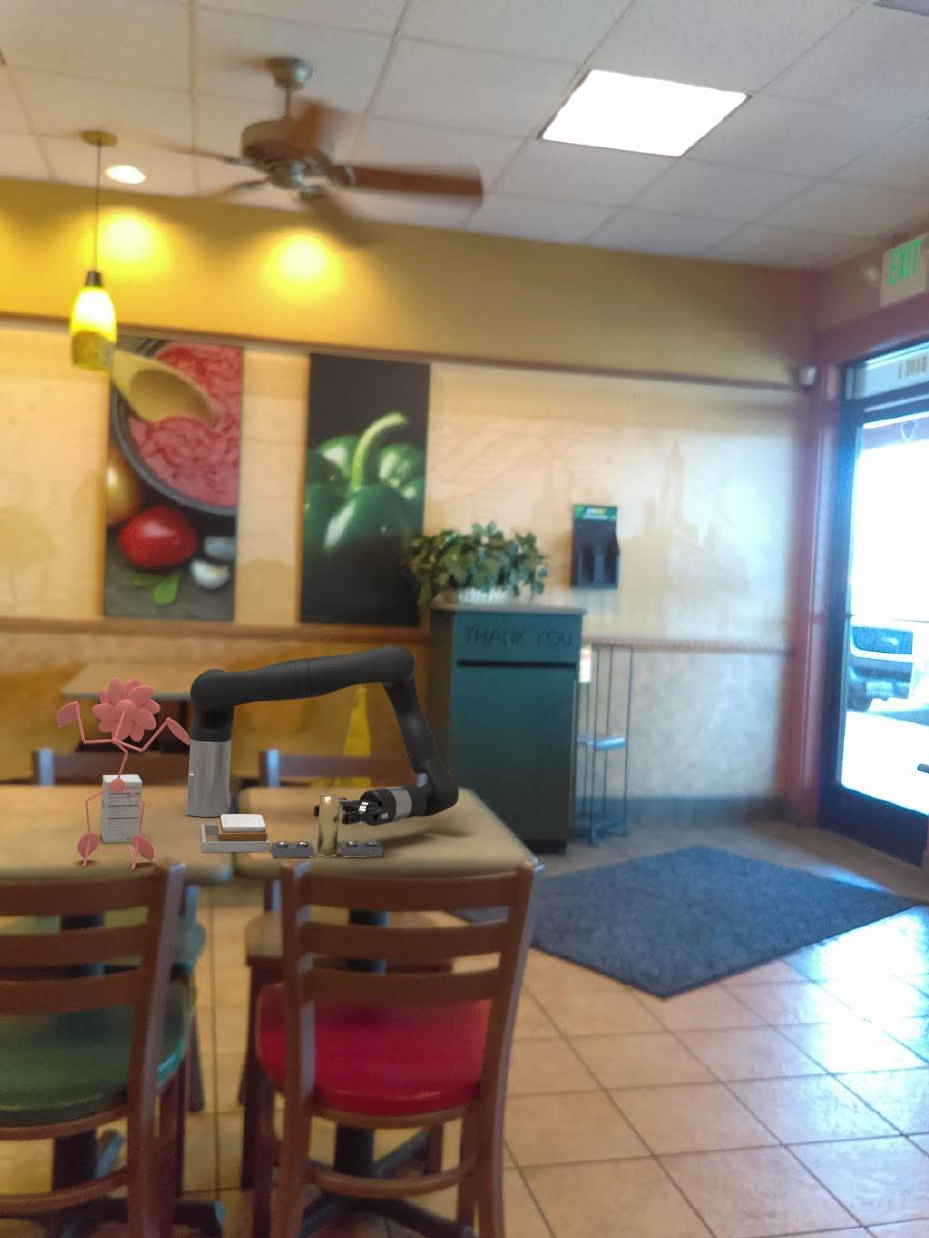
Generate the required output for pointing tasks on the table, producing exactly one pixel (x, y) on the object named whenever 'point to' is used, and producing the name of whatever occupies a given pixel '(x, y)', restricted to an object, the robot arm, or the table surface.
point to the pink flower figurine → (123, 717)
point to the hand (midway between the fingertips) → (329, 815)
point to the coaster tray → (230, 846)
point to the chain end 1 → (292, 849)
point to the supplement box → (120, 810)
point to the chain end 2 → (361, 848)
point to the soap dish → (242, 828)
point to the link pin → (328, 824)
